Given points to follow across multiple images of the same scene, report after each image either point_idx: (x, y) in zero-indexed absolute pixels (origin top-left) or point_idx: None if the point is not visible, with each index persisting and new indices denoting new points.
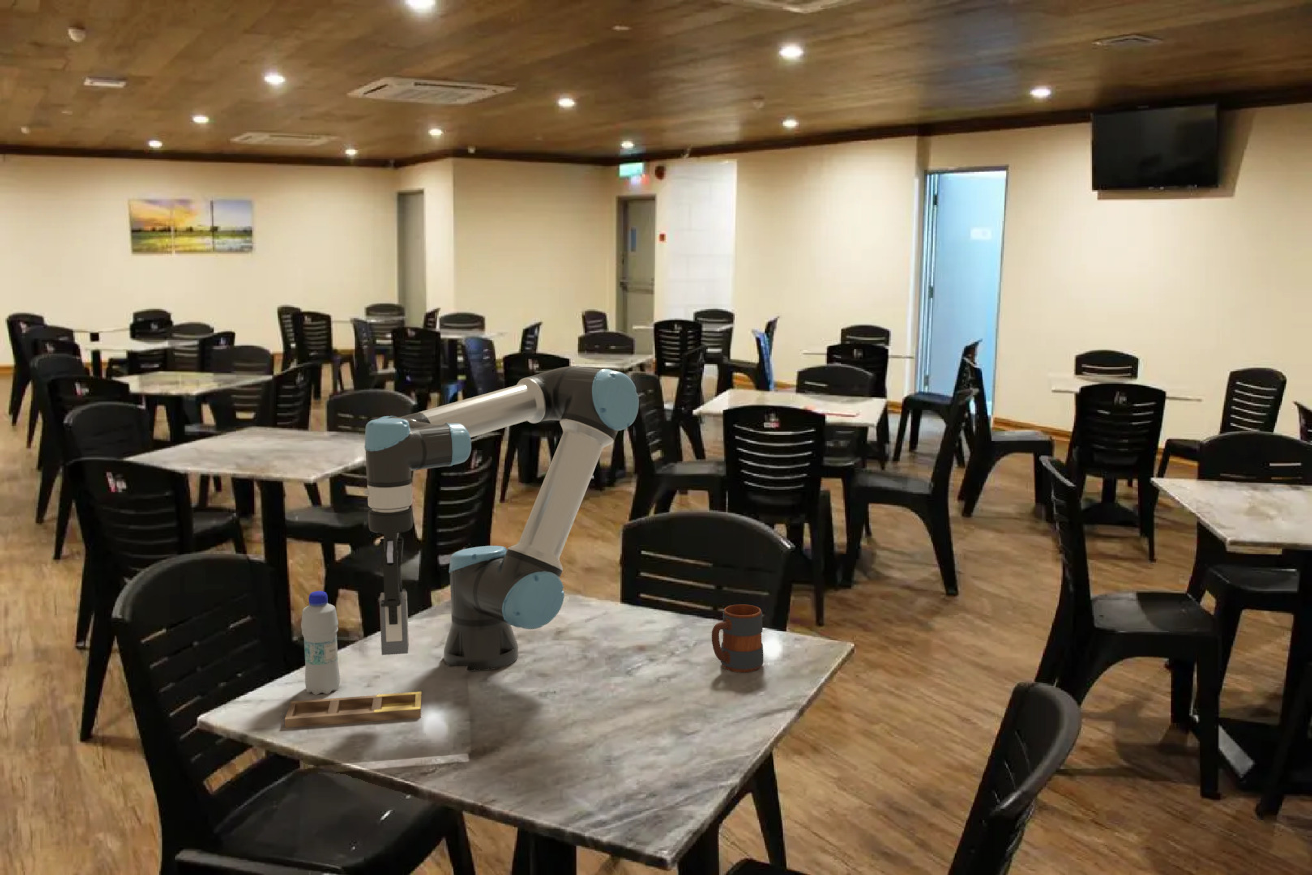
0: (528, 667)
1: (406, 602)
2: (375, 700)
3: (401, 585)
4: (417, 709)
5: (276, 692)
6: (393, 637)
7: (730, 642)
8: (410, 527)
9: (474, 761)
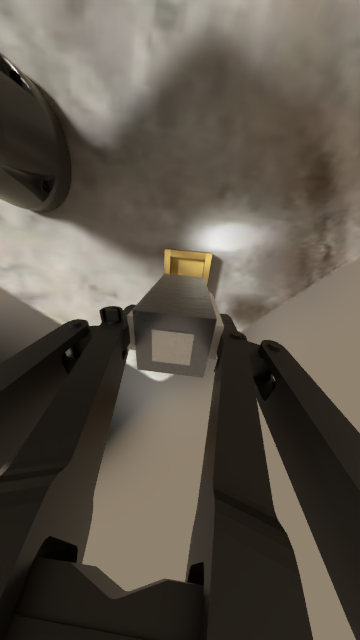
0: (43, 39)
1: (183, 306)
2: None
3: (81, 323)
4: (211, 257)
5: None
6: None
7: None
8: None
9: (338, 196)
